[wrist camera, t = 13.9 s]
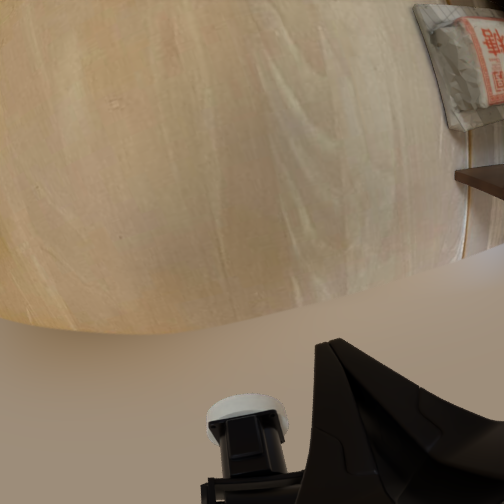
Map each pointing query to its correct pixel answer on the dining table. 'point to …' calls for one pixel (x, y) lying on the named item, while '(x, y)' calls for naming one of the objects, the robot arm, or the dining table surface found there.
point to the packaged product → (466, 61)
